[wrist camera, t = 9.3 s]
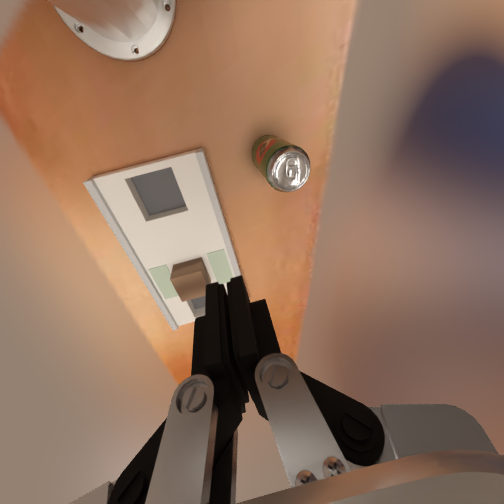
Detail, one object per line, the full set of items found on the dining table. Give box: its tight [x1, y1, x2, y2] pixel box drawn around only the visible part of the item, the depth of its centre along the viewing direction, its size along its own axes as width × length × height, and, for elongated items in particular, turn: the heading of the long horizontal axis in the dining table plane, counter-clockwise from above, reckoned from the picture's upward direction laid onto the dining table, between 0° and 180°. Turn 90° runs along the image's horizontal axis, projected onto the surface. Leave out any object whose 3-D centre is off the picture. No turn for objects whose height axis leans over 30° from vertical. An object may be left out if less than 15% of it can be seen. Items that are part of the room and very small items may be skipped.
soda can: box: [252, 135, 310, 192], centre depth 31 cm, size 5×5×12 cm
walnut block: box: [170, 257, 211, 302], centre depth 40 cm, size 5×5×4 cm
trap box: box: [83, 148, 249, 330], centre depth 41 cm, size 30×16×3 cm, turn 13°
